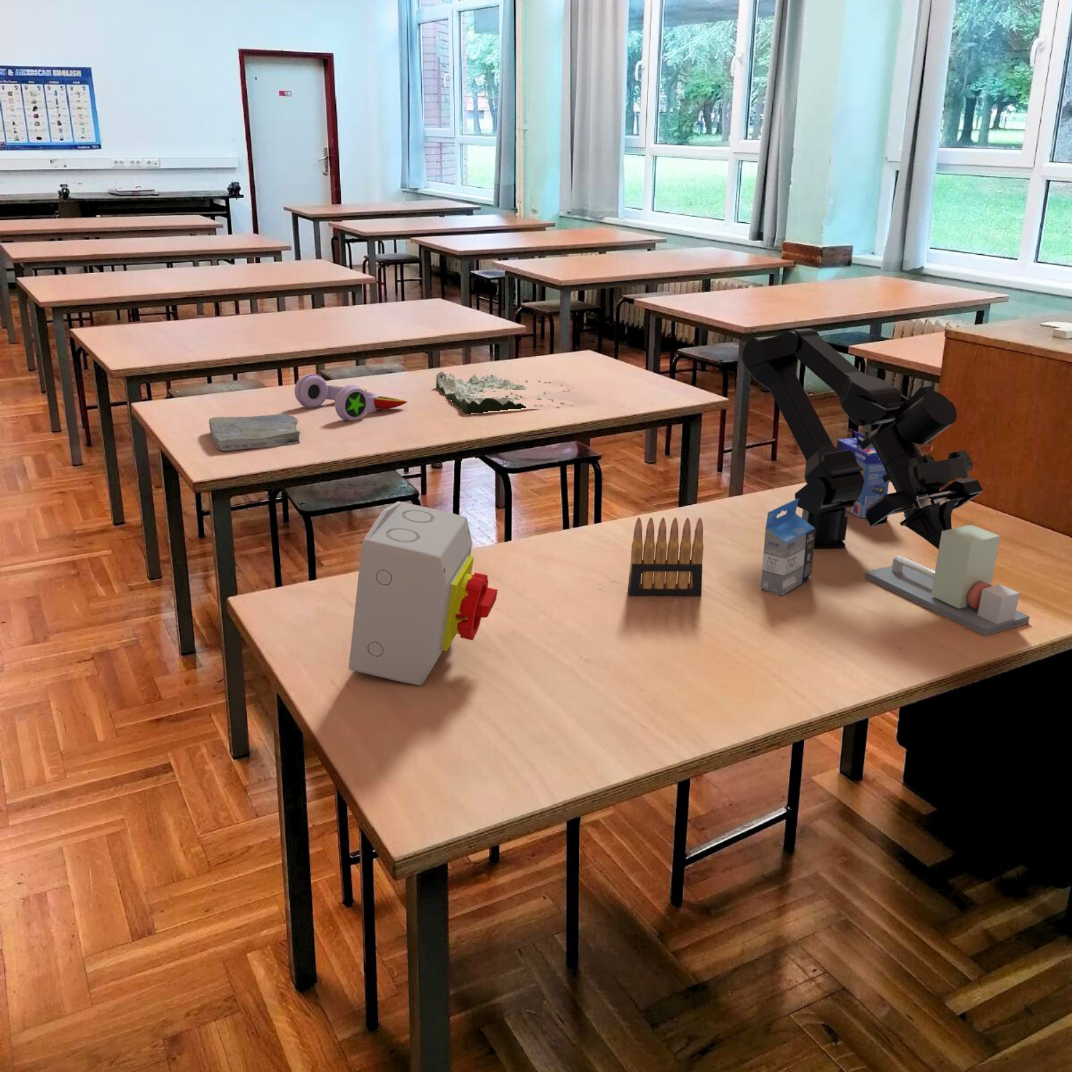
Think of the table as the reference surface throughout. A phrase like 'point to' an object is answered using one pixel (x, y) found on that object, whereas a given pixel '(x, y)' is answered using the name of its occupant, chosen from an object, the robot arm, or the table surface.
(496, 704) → the table surface
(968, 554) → the pale green upright block
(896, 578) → the grey rail base
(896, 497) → the robot arm
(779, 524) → the label tape box
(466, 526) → the electrical switch box
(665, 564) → the ammunition clip
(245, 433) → the fossil
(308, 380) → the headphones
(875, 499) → the ink cartridge box
